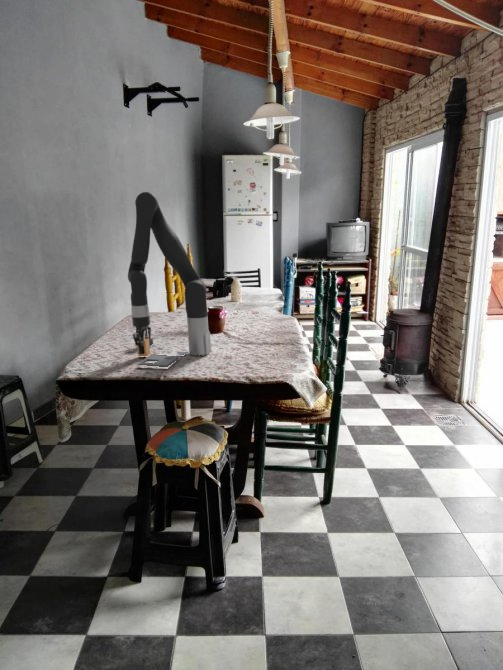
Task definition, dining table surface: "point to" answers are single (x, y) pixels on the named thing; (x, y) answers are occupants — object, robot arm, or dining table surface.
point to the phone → (182, 353)
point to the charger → (145, 347)
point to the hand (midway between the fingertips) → (144, 352)
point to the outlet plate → (159, 360)
